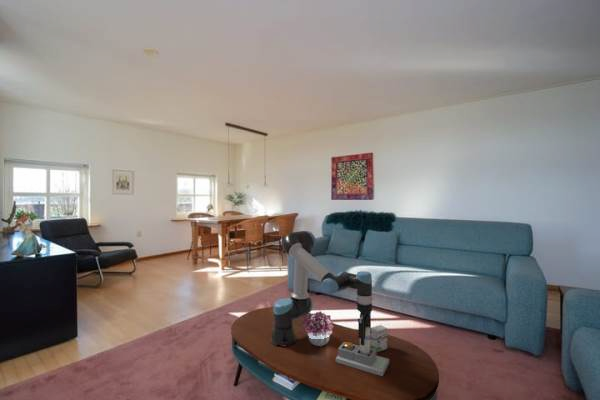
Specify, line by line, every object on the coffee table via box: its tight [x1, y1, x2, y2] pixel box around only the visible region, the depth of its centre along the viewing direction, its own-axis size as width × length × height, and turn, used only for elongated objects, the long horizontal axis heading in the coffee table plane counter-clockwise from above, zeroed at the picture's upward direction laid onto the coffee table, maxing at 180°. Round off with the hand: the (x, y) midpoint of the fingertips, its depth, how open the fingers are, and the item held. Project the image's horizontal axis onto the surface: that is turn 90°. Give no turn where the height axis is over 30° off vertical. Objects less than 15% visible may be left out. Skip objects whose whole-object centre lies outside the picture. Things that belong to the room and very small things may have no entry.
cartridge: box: [360, 326, 371, 356], centre depth 146 cm, size 5×5×16 cm
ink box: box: [370, 324, 388, 353], centre depth 160 cm, size 9×5×12 cm, turn 123°
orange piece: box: [344, 341, 354, 351], centre depth 150 cm, size 5×5×5 cm
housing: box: [335, 341, 390, 377], centre depth 146 cm, size 24×13×6 cm, turn 59°
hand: (365, 348), depth 146 cm, fingers closed on cartridge, 5 cm apart
